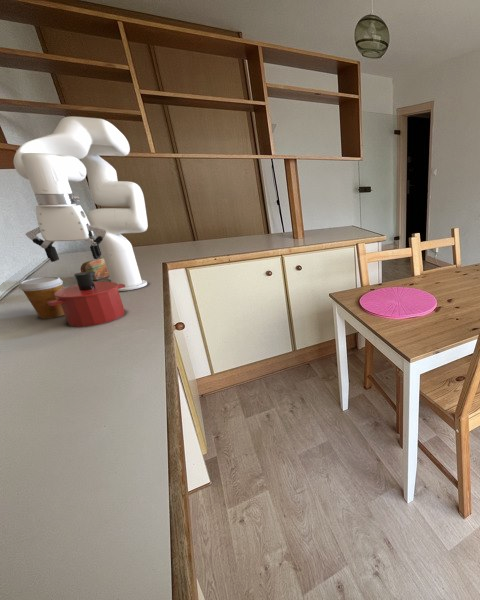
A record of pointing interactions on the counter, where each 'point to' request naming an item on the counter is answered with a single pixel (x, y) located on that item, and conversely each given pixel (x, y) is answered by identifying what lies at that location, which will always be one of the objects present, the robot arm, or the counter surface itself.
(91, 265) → the tin
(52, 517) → the counter surface
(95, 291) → the pot lid
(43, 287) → the disposable coffee cup
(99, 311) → the pot
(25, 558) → the counter surface
